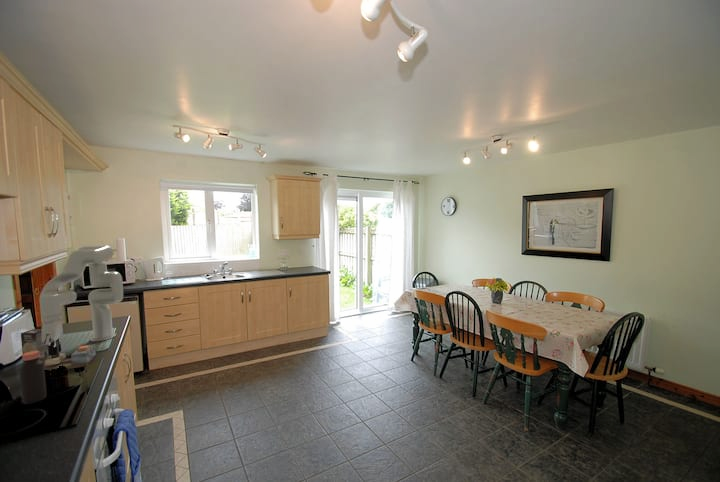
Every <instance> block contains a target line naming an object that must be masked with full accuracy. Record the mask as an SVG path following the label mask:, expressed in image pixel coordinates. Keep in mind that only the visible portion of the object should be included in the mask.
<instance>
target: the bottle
mask: <svg viewBox="0 0 720 482" xmlns="http://www.w3.org/2000/svg"><path fill="white" fill-rule="evenodd" d="M21 358H22V362H23V364H22V365H20V367H19V376H20V385H21V394H22V395H21V397H22V404H24V405H32V404H35V403H38V402H41V401H43V400H44V399H46V398H47V384H46V383H47V382H46V373H45V371H44V362H43V361H41V360H39V358H40V352H39V351H31V352H27V353H24V354H23V353H22V354H21Z"/></svg>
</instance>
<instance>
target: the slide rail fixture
mask: <svg viewBox="0 0 720 482" xmlns="http://www.w3.org/2000/svg"><path fill="white" fill-rule="evenodd" d="M88 345H89V349H88V350H83V351H78V348H77V349H76V350H75V351H74V352H73V353H71V356H70V357H69V358H67V357H66V358H65V359H63V360H62V361H61V362H60V363H59V364H54V365H48V366H45V361H46V360H47V359H46V355H42V356H40V358H39V360H41V361H43V362H44V370H52V369H57V368H59V366H62V365H63V366H65V367H66V368H67V369H66V370H70V369H75V368H82V367H86V366H88V365H89V364H90V363H91V362H92V361H93V359H94V358H96V355H97V348H96V343H95V344H94V343H93V344H88Z"/></svg>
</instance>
